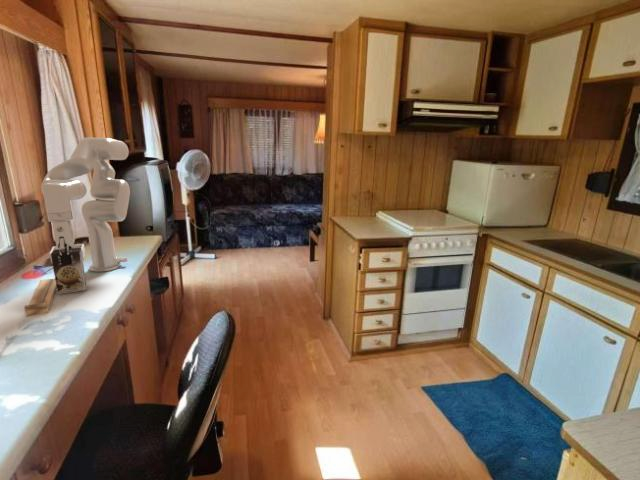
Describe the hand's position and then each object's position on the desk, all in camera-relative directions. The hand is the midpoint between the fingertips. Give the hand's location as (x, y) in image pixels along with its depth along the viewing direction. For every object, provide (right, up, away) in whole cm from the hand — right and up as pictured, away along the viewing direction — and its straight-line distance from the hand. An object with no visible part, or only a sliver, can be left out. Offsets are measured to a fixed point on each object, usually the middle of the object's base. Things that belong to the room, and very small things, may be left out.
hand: (67, 261), depth 137 cm
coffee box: (0, -11, +3) cm, 12 cm away
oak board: (-7, -14, -2) cm, 16 cm away
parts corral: (-28, -1, +40) cm, 49 cm away
